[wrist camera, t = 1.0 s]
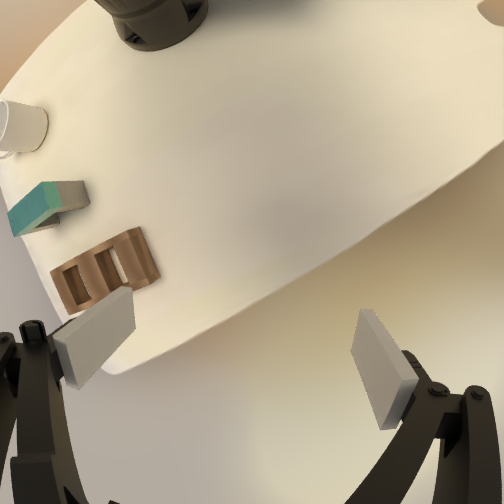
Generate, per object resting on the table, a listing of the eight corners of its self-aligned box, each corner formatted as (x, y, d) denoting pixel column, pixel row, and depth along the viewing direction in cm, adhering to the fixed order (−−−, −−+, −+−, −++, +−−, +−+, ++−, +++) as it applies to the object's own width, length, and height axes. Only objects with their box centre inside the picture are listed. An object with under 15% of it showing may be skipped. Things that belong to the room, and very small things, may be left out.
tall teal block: (53, 227, 42) (13, 237, 32) (46, 207, 41) (7, 213, 32) (90, 203, 40) (49, 208, 31) (83, 180, 40) (41, 181, 30)
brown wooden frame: (81, 307, 45) (69, 315, 41) (63, 266, 43) (49, 271, 39) (160, 276, 42) (149, 284, 38) (139, 226, 40) (126, 230, 37)
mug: (9, 145, 40) (-28, 143, 29) (41, 99, 37) (2, 89, 27) (22, 174, 41) (-19, 176, 30) (55, 127, 38) (13, 120, 28)
